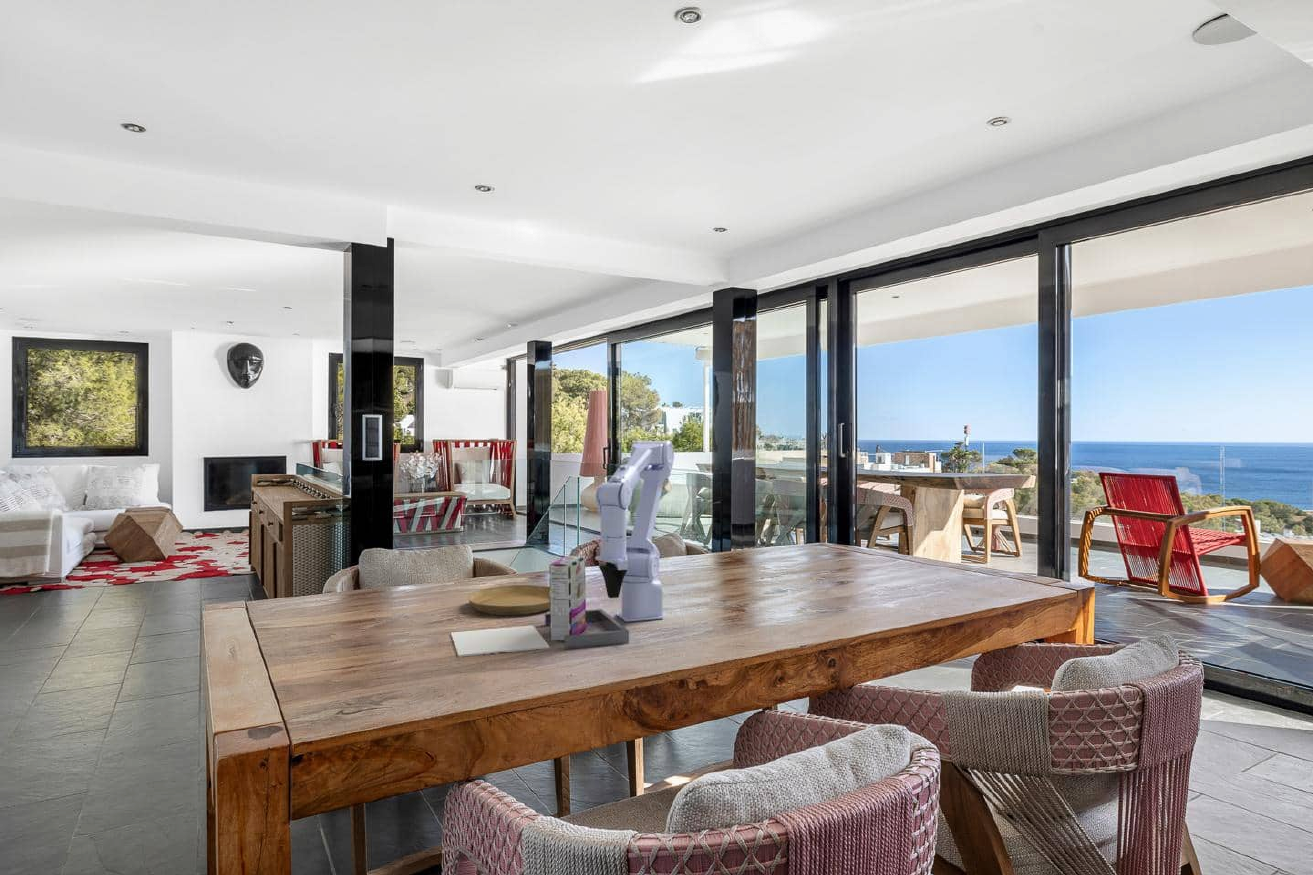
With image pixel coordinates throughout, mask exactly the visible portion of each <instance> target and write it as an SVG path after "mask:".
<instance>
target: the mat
mask: <svg viewBox="0 0 1313 875" xmlns="http://www.w3.org/2000/svg"><path fill="white" fill-rule="evenodd" d="M450 635H451V639H452V641H454V642H453V644H454V648H455V651H456V654H457V657H458V658H459V657H460V658H462V657H472V656H484V655H483V654H485V655H491V654H490V653H495V654H499V653H498V652H506V653H515V652H524V651H525V652H526V651H535V650H536V649H537V650H545V649H550V645H549V644H548V643H547V642H546V640H545V639H544V637H543V636H542V635H541V634H540V633H539V631H538V630H537V628H536V627H535V626H534V625H524V626H523V625H522V626H513V627H501V628H500V627H499V628H489V629H476V630H465V631H455V632H450Z"/></svg>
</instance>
